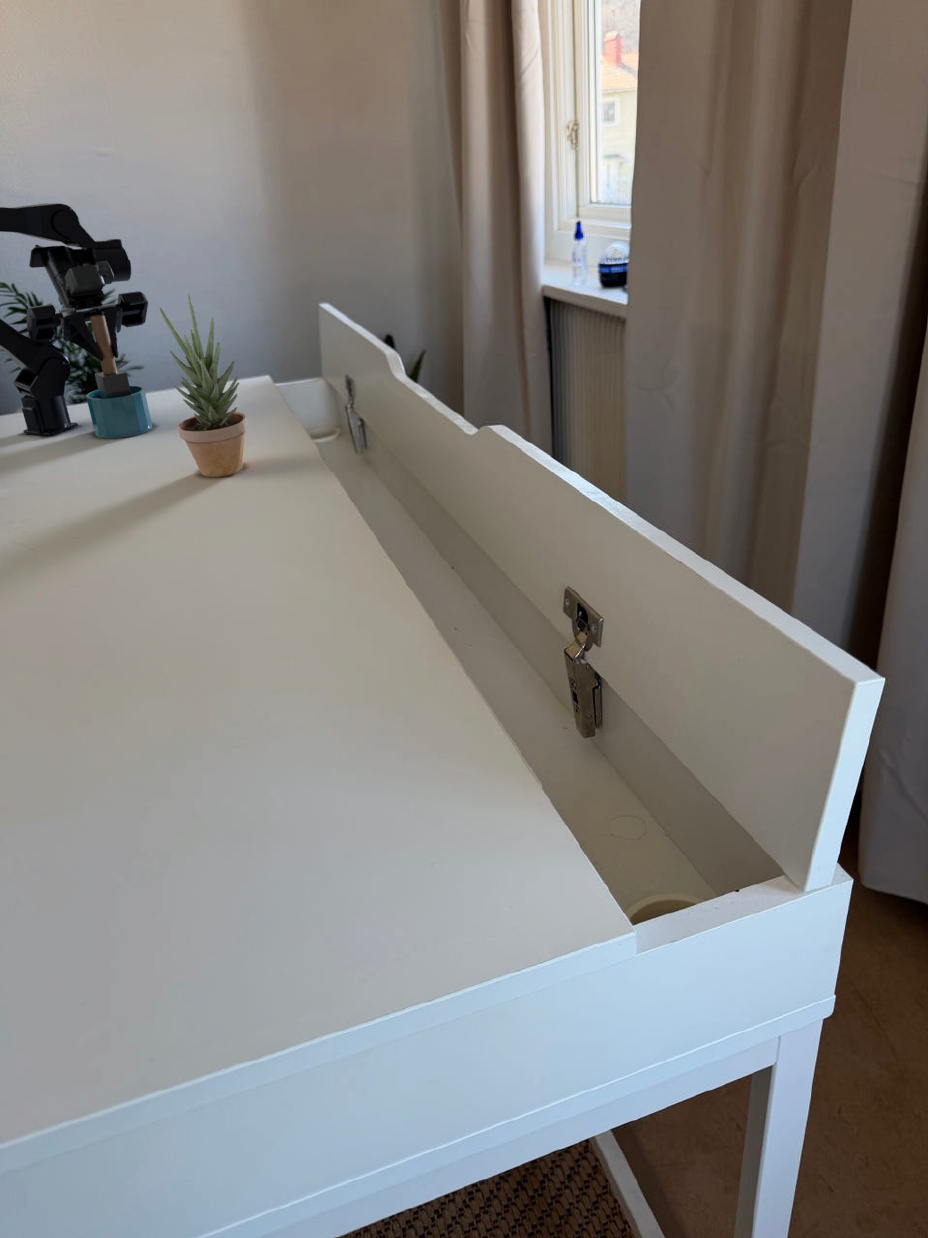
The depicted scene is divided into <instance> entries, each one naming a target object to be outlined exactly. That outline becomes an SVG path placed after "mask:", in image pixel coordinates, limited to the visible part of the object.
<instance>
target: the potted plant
mask: <svg viewBox="0 0 928 1238" xmlns="http://www.w3.org/2000/svg"><path fill="white" fill-rule="evenodd" d="M187 298H188V305H189V310H190V316H191V324H192V328H193V329H190V339H191V342H190V341H189V339H188V337H187V335H186V333H184V335H183V336H184V339H183V337H182V336H181V335H180V333H179V331H178V330H177V328H176V327H175V326H174V324H173V323H172V322H171V320H170V319H169V317H168V316H167V314H166V313H165V312H164V311H163V308H162V307H161V306H160V305H159V306H158V308H159V312H160V314H161V316H162V318H163V320H164V322H165V324H166V326H167V327H168V329H169V330H170V332H171V334H172V336H173V337H174V339H175V341H176V343H177V344H178V346H179V348H180V349H181V350H182V352H183V353H184V355H185V360H186V363H187V365H186V364H185V363H184V362H183V361H181V360H180V359H179V358H178V356H176V355H175V354H174V352H173V351H171V350H169V353H170V354H171V356H172V358H173V359H174V361H175V363H176V364H177V366H179V368H180V369H181V371H182V372H183V373H184V374H185V375H186V376H187V377H188V379H189V380H190V381H191V382H192V384H193V385H192V384H191V383H190V382H189V381H188V380H187V379H186V378H185V377H184V376H182V375H181V376H180V378H181V381H180V384H181V385H182V386H183V387H184V388H185V389H186V390H187V391H188V393H187V392H185V391H184V390H182V389H181V388H179V387H178V386H177V385H173V387H174V388H175V389H176V391H178V392H179V393H180V394H181V395H182V396H183V397H184V398H185V399H182V401H184V403H185V404H186V405H187V406H188V407H189V408H190V409H191V410H193V411H194V412H195V413H193V415H194V416H191V417H189V418H186V419H184V420H182V421H181V422H179V423H178V424H177V430H178V431H177V432H178V434H179V438H180V439H181V440H183V441H184V442H185V444H186V446H187V449H188V450H189V452H190V453H191V456H192V457H193V460H194V461H195V464H196V466H197V468H198V470H199V471H200V473H201V475H203V476H205V477H210V478H219V477H220V478H221V477H228V476H231V475H235V474H236V473H238V472H240V471H241V470H242V469H243V463H244V452H245V451H244V449H245V440H246V439H245V438H246V432H247V430H248V427H249V426H248V419H247V416H246V415H245V414H244V413H243V412H242V413H241V412H238V411H237V409H238V406H236V407H235V408H234V409H232V410H231V411H229V409H230V408H231V407H232V405H233V403H234V402H235V400H236V399H237V398H238V393H236V391H237V389H238V387H239V385H240V382H237V381H238V377H235V378H234V379H233V381H232V382H231V383H230V386H229V387H228V388H227V390H226V391H224V390H225V388H226V385H227V384H228V381H229V380H230V377H231V375H232V372H233V369H234V367H235V360H232V362H231V364H230V365H229V366H228V367H227V369H226V370H225V372H224V373H223V374H222V375H221V376H220V375H219V374H220V361H221V359H220V357H221V344H220V342H219V341H217V343H216V346H215V322H214V317H212V318H211V322H210V325H209V333H208V338H207V339H208V340H207V346H206V350H205V355H204V351H203V345H202V342H201V336H200V331H199V327H198V324H197V320H196V319H197V318H196V313H195V310H194V306H193V302H192V298H191V296H190V293H189V292H187ZM215 347H216V348H215ZM235 393H236V394H235ZM196 413H197V414H196Z"/></svg>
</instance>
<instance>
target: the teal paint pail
mask: <svg viewBox="0 0 928 1238" xmlns="http://www.w3.org/2000/svg"><path fill="white" fill-rule="evenodd" d="M129 385H130V390H131V394H132V395H128V396H123V397H117V398H108V399H102V398H100V394H99V390H98V389H96V390H93V391H91V392H89V393H86V396H85V397H86V398H85V399H86V402H87V407H88V411H89V415H90V418H91V422H92V425H93V426H92V427H93V430H94V434H95V436H96V437H97V438H100V439H122V438H129V437H134V436H138V435H142V434H144V433H147V432H149V431H150V430H152V429H153V422H152V419H151V413H150V409H149V404H148V400H147V399H148V398H147V396H146V392H145V391H146V390H145V387H144V386H142V385H135V384H129Z"/></svg>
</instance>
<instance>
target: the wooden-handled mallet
mask: <svg viewBox="0 0 928 1238" xmlns="http://www.w3.org/2000/svg"><path fill="white" fill-rule="evenodd" d="M90 319H91V322H90V323H91V328H92V331H93V337H94V340H95V342H96V343H97V345H98V347H99V349H100V351H101V353H102V356H103V361H100V366H101V369H102V371H101V372H95V373H94V377H95V382H96V385H97V390H99V394H100V398H102V399H108V398H117V397H123V396H128V395H132V394H131V390H130V385H131V384H130V382H129V377H128V373H127V372H126V371H123V370H121V369H119V368H117V364H116V360H115V359H116V358H115V357H114V355H113V350H112V346H111V342H110V337H109V333H108V329H107V324H106V320H105V316H104V315H95V316H91V317H90Z"/></svg>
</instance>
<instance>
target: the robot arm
mask: <svg viewBox="0 0 928 1238" xmlns="http://www.w3.org/2000/svg"><path fill="white" fill-rule="evenodd" d="M0 232H2V233H15V234H20V235H23V236H26V237H31V238H35V239H40V240H44V241H48V242H59V243H62V244H63V245H49V246H42V245H39V244H35V245H34V247H33V248H32V249H31V250H30V255H29V256H30V257H29V264H28V265H29V266H28V267H30V268H31V269H36V268H44V270H45V271H46V274H47V275H48V278H49V280H50V281H51V283H52V285H53V288H54V289H55V292H56V293H57V296H58V302H59V304H60V305H62V306H63V307H61V308H59V309H58V312H57V310H56V307H55V306H54V304H51V303H50V304H42V305H35V306H30V307H28V309H27V311H26V330H27V333H28V335H25V334H23V333H21V332H20V331H18V330H17V329H15V328H14V327H13V326H11V325H10V324H8V323H7V322H6V321H4V320H2V318H0V349H1V350H3V351H4V352H5V353H6V354H7V355H8V357H9V358H10V359H11V360H12V361H13V362H14V363H15V364H16V365H17V366H18V367H19V368H20V371H19V373H18V374H17V375H16V377H15V379H14V380H13V382H12V384H13V386H14V387H15V388H16V390H17V392H18V393H19V394H21V395H24V396H22V397H20V401H21V404H22V408H21V411H22V415H23V419H24V422H25V426H26V429H23V433H24V434H27V435H39V436H47V437H48V436H49V437H50V436H53V435H56V434H59V433H62V432H65V431H67V430H70V429H73V428H76V427H78V426H79V423H78V422H76V421H75V422H72V421H71V417H70V413H69V410H68V406H67V402H66V398H65V392H66V391H65V389H66V381H68V380H69V377H70V375H71V371H72V370H71V364H70V360H69V358H68V357H67V355H65V354H63V352H64V350H65V349H64V348H61V347H58V346H55V345H54V344H53V343H52V342H51V341H53V339H54V338H55V336H56V332H55V330H54V328H56V327H59V329H60V330H61V331H62V339H63V341H64V342H71V343H73V344H74V345H76V346H78V347H80V348H81V349H83V350H84V351H86V352H87V353H88V354H90V355H91V356H92V357H94V358H95V359H97V360H98V361H99V362H101V361H103V356H102V353H101V351H100V349H99V347H98V345H97V343H96V340H95V337H94V336H93V335H92V333H91V331H90V329H89V328H88V326H87V324H89V323H91V319H90V317H91V316H95V315H104V316H105V320H106V324H107V329H108V333H109V337H110V342H111V346H112V350H113V355H114V359H118V358H119V345H118V335H117V334H119V333H120V332H121V330H122V326H123V327H125V328H133V327H138V326H142V325H144V324H145V323H146V319H147V313H148V307H149V300H148V299H147V297H146V295H145V294H144V293H143V292H142V291H139V290H135V291H129V292H125V293H124V292H123V293H117V295H118V296H117V303H115V302H113V303H106V304H103V301H105V296H106V294H105V293H104V291H103V289H104V287H106V286H107V285H112V284H113V283H119V282H127V281H130V279H131V278H132V277H131V276H132V263H131V259H129V255H128V252H127V251H126V249H125V248H124V247H123V243H122V239H120V238H109V239H105V240H95V239H94V238H93V237H92V236H91V235H90V234H89V233H88V231H87V230H86V229H85V228H84V227H83V226H82V224H81V222H80V218H79V216H78V214H77V212H76V211H75V210H74V209H73V208H72V207H71V206H70V205H68V204H65V203H57V202H56V203H48V202H45V203H37V204H30V205H29V204H28V205H22V206H21V205H20V206H15V207H14V206H13V207H3V206H0ZM73 247H74V248H73Z"/></svg>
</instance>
